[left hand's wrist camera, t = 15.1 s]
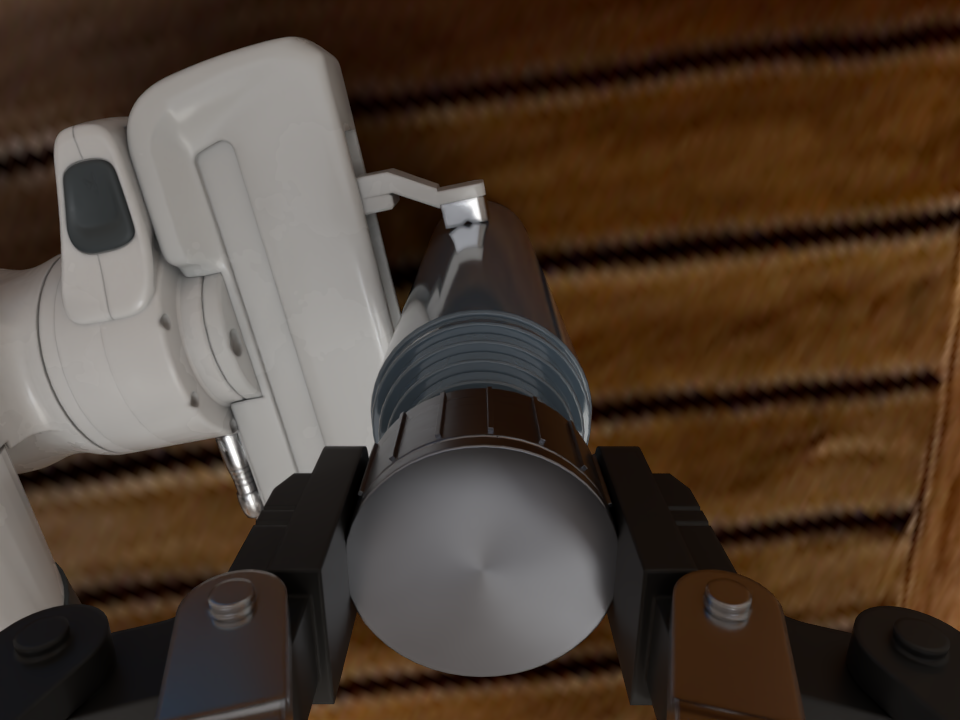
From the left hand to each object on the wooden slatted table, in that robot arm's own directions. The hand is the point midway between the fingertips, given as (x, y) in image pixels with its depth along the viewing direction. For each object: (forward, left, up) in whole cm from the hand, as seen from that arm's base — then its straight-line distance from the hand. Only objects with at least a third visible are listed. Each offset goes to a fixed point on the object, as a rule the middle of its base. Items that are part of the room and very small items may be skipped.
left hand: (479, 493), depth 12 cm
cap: (0, 0, +2) cm, 2 cm away
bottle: (0, 0, -23) cm, 23 cm away
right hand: (0, -1, -16) cm, 16 cm away
